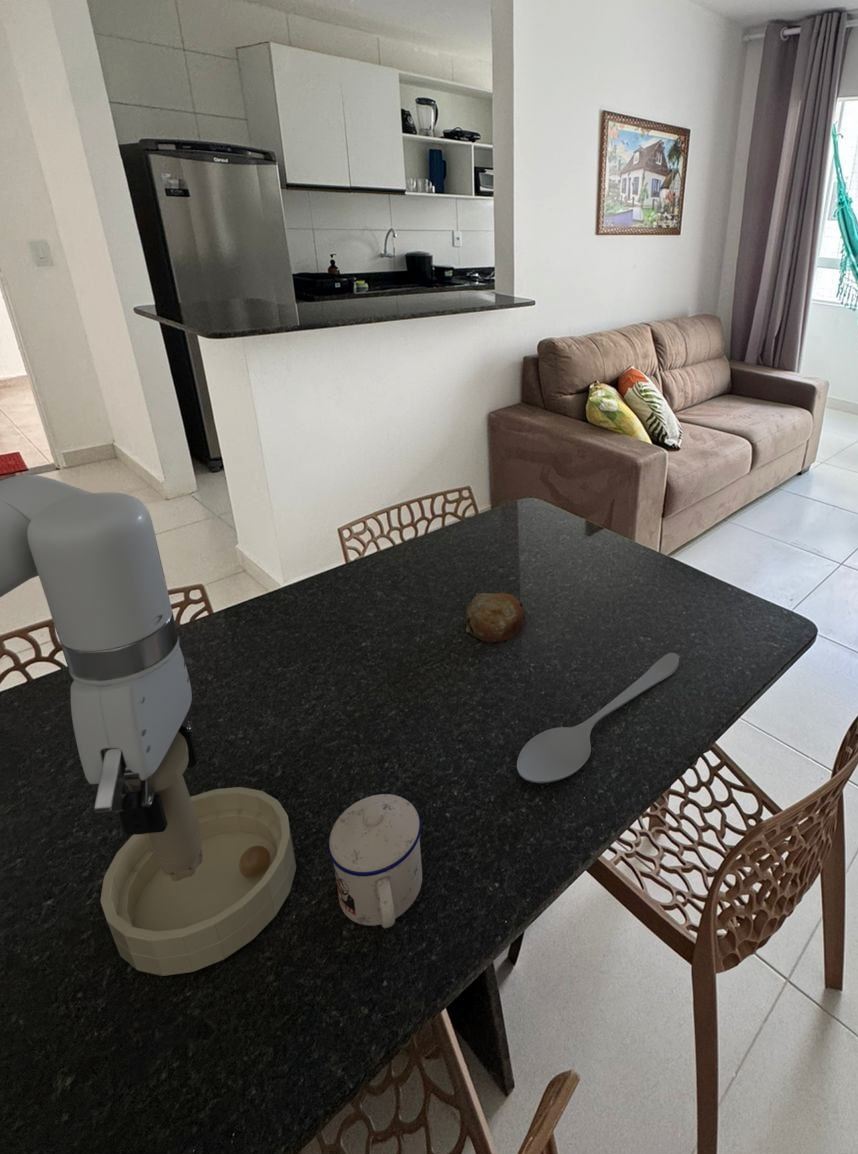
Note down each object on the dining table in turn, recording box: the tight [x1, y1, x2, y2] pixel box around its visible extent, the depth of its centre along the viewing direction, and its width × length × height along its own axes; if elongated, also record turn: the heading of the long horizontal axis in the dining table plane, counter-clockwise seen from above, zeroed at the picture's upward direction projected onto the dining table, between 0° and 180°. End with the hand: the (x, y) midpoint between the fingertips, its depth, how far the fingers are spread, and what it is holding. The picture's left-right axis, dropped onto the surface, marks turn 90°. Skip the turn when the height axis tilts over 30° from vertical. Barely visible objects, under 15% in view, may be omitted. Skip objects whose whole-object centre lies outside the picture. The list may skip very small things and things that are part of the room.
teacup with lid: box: [327, 793, 423, 929], centre depth 68 cm, size 12×9×12 cm
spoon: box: [516, 652, 680, 784], centre depth 96 cm, size 35×8×3 cm, turn 140°
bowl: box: [99, 786, 297, 977], centre depth 69 cm, size 17×17×6 cm
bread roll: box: [465, 591, 526, 644], centre depth 114 cm, size 10×10×8 cm
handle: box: [125, 732, 203, 881], centre depth 62 cm, size 5×6×15 cm
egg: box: [239, 846, 270, 878], centre depth 72 cm, size 3×3×3 cm
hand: (164, 795), depth 61 cm, fingers closed on handle, 6 cm apart
